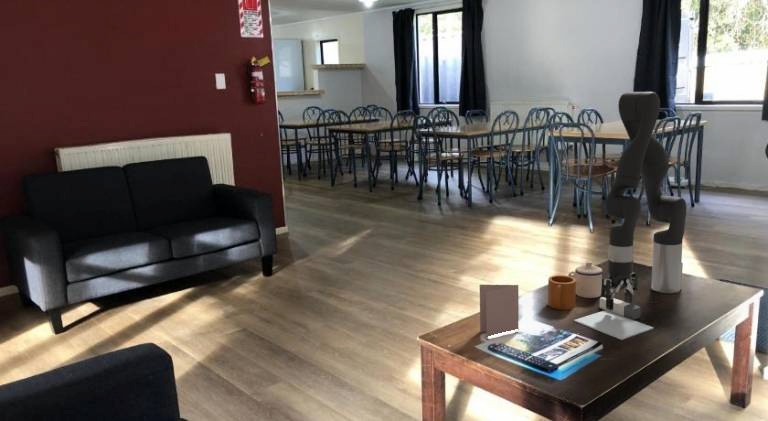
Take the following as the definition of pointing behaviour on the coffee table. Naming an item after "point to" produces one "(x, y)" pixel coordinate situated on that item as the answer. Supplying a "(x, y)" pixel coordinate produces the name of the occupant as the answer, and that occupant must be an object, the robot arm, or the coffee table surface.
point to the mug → (561, 292)
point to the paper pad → (613, 324)
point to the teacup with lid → (588, 280)
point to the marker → (622, 308)
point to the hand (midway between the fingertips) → (618, 306)
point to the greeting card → (498, 308)
